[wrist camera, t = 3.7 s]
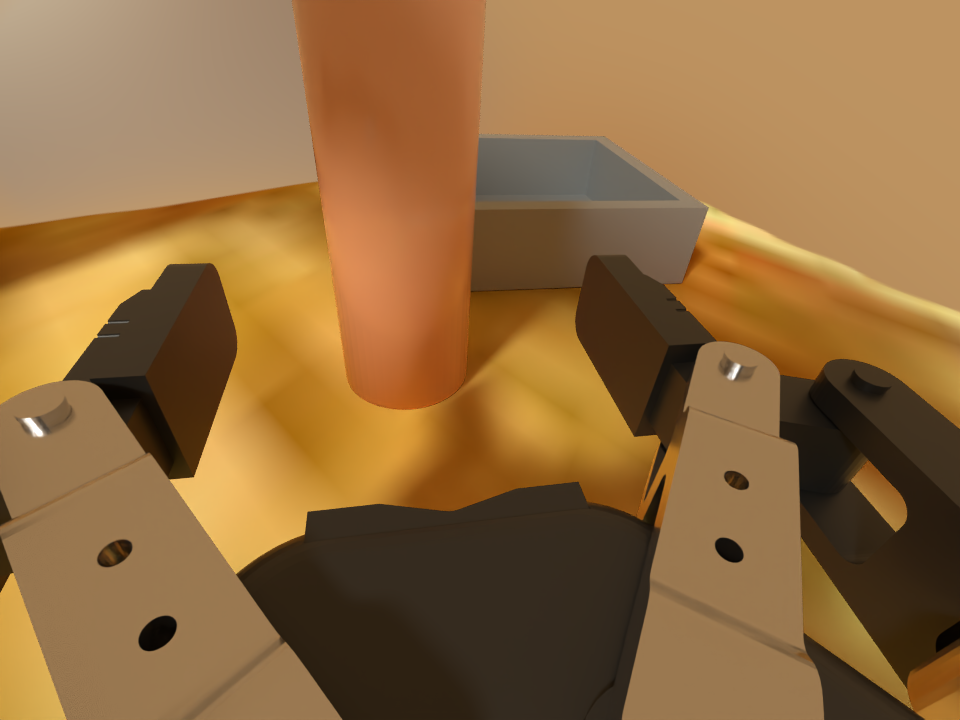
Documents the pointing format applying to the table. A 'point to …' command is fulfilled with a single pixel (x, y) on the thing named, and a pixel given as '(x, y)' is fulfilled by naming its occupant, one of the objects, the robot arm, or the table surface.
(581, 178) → the tote
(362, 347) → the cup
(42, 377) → the table surface
